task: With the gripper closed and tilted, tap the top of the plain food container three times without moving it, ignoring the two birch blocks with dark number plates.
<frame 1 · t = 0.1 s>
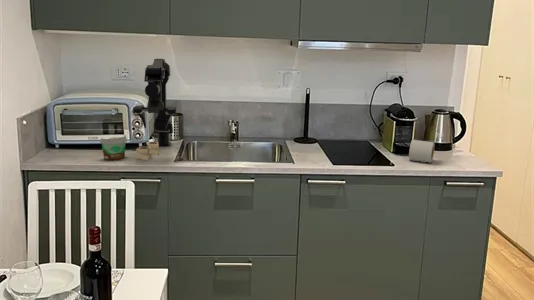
hand: (155, 128, 235), 15 cm above the worktop, tool pointing down, fingers open, 9 cm apart
number block B: (144, 158, 240), on the worktop
number block A: (153, 153, 249), on the worktop
food container: (116, 159, 237), on the worktop
toilet paper: (420, 161, 251), on the worktop
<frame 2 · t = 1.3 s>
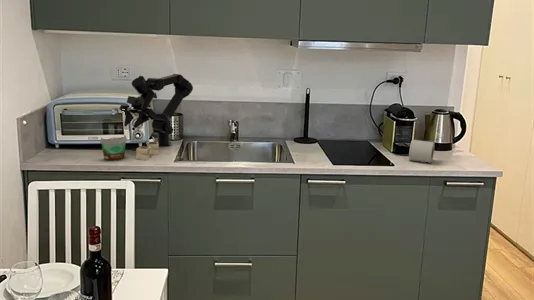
hand: (129, 126, 242), 14 cm above the worktop, tool tilted 45°, fingers open, 5 cm apart
nothing on the worktop moved.
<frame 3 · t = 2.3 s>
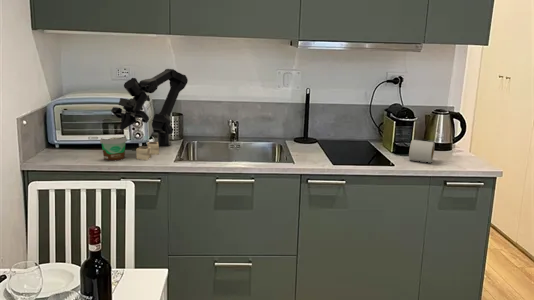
hand: (121, 129, 237), 13 cm above the worktop, tool tilted 45°, fingers closed
nothing on the worktop moved.
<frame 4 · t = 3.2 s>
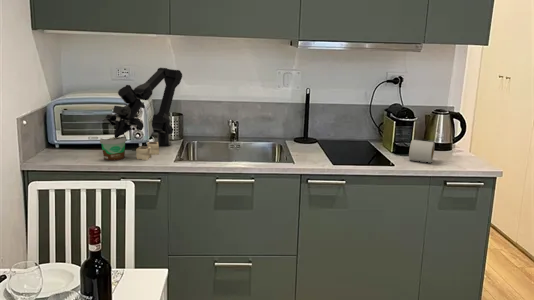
hand: (115, 137, 234), 10 cm above the worktop, tool tilted 45°, fingers closed, pressing on food container
food container: (116, 159, 237), on the worktop, touching gripper
everything else where it was.
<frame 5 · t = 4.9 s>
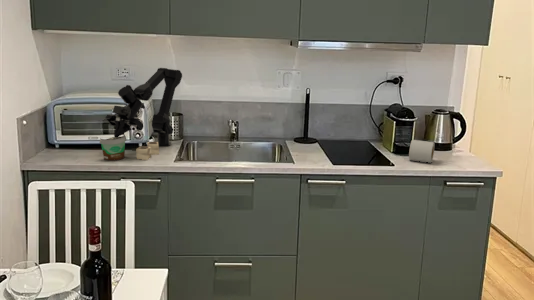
hand: (115, 137, 234), 10 cm above the worktop, tool tilted 45°, fingers closed, pressing on food container
food container: (116, 159, 237), on the worktop, touching gripper
everything else where it was.
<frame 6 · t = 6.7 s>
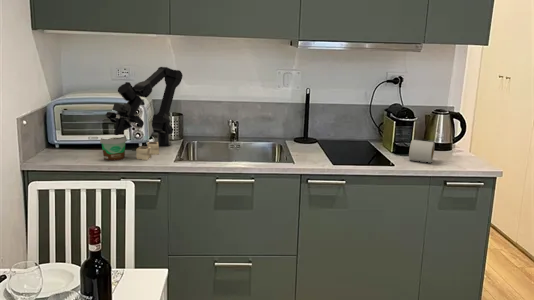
hand: (115, 134, 234), 11 cm above the worktop, tool tilted 45°, fingers closed
food container: (116, 159, 237), on the worktop
everything else where it was.
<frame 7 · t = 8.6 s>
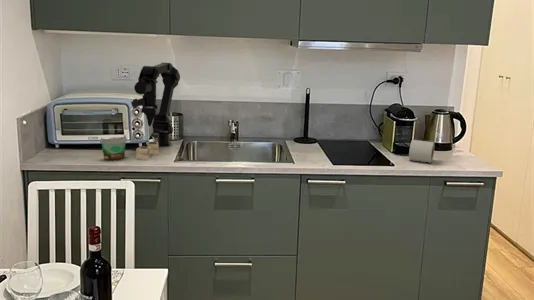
hand: (149, 125, 248), 13 cm above the worktop, tool pointing down, fingers closed
nothing on the worktop moved.
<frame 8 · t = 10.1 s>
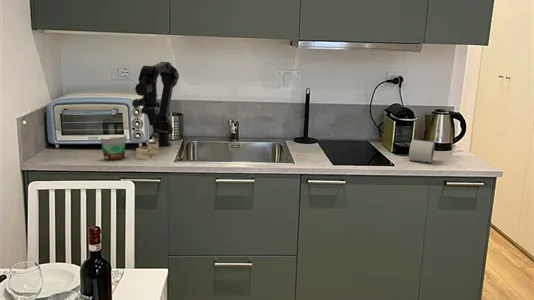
hand: (151, 125, 249), 13 cm above the worktop, tool pointing down, fingers closed
nothing on the worktop moved.
at the end: food container moved 0.2 cm from its start; food container tilted 0°; number block B moved 0.1 cm from its start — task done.
